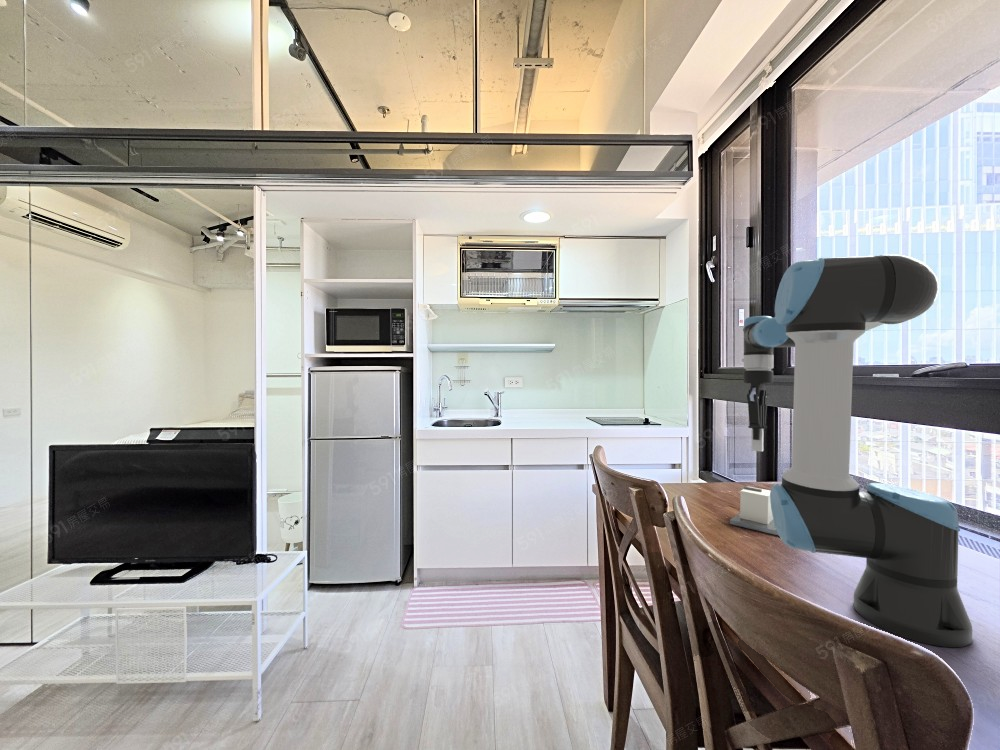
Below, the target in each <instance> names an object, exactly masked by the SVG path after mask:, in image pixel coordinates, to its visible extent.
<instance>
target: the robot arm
mask: <svg viewBox="0 0 1000 750" xmlns="http://www.w3.org/2000/svg"><path fill="white" fill-rule="evenodd" d="M778 285H779V286H778V289H777V292H776V297H775V301H774V302H775V303H774V317H772V316H769V315H760V316H759V315H756V316H749V317H747V318H745V319H744V322H743V328H742V332H743V358H742V359H741V362H742V363H743V369H745V370H744V371H743V373H742V375H743V376H742V377H743V378H742V381H743V383H744V384H750V387H749V389H748V393H747V394H746V399H747V408H748V409H747V410H748V426H747V428H748V429H751V445H750V446H751V447H750V448H751V451H755V452H764V438H765V437H764V430H765V429H767V428H768V426H767V425H766V424H767V412H768V411H767V410H768V400H769V393H768V390H767V388H766V384H773V383H774V370H773V369H774V367H775V366H774V358H775V357H774V348H794V372H793V375H794V376H793V410H792V411H793V412H792V445H791V447H792V448H791V466H790V468H788V469H787V470H785V471H784V472H783V473H782V475H781V483H776V484H772V486H771V487H770V491H771V492H770V503H771V510H772V515H773V519H774V523H775V526H776V529H777V532H778V534H779V538H780V539H781V541H782V542H783V543H784V544H785V545H786V546H787V547H789V548H791V549H793V550H800V551H805V552H810V553H812V554H816V553H819V554H827V555H828V554H829V555H836V556H846V557H855V558H863V559H866V562H865V563H866V564H865V569H864V570H863V573H862V575H861V577H860V579H859V582H858V583H857V586H856V587H855V590H854V591H853V602H852V603H853V608H854V609H855V611H856V612H857V613H858V614H859V615H860V616H861V617H862V618H864V619H865V620H867V621H868V622H870V623H872V624H873V625H875V626H877V627H878V628H881V629H882V630H885V631H887V632H890V633H892V634H894V635H897V636H900V637H902V638H905V639H909V640H912V641H916V642H919V643H923V644H928V645H931V646H932V645H933V646H937V647H938V646H939V647H943V648H944V647H946V648H947V647H948V648H963V647H966V646H969V645H971V644H972V642H973V625H972V622H971V619H970V617H969V615H968V612H967V610H966V607H965V605H964V602H963V600H962V597H961V594H960V592H959V590H958V575H959V574H958V571H959V570H958V568H959V567H958V566H959V565H958V563H959V532H960V531H961V528H960V523H959V517H958V516H959V515H958V514H959V513H958V509H957V508H956V506H955V505H954V504H953V503H952V502H950V501H949V500H947V499H945V498H943V497H940V496H937V495H935V494H931V493H928V492H924V491H920V490H917V489H914V488H909V487H903V486H899V485H896V484H895V485H894V484H888V483H882V482H869V483H868V484H867V486H866V487H865V490H866V491H861V489H860V483H859V482H858V481H856V479H855V478H853V477H852V475H850V463H851V462H850V457H851V454H850V453H851V434H852V433H851V430H852V429H851V426H852V402H853V401H852V398H853V396H852V395H853V373H854V372H853V368H854V367H853V366H854V344H855V342H856V340H858V339H859V338H860V337H861V336H862V335H864V334H865V333H866V332H867V331H869V330H872V329H874V328H877V327H881V326H882V325H898V324H903V323H905V322H907V321H910V320H912V319H915V318H917V317H919V316H921V315H922V314H924V313H925V312H926V311H928V310H929V309H930V308H931V307H932V306H933V305H934V303H935V301H936V299H937V298H938V294H939V290H940V289H939V288H940V287H939V286H940V285H939V281H938V278H937V275H936V274H935V273H934V271H933V270H932V268H930V267H929V266H928V265H927V264H925V263H924V262H923V261H921V260H918V259H916V258H913V257H910V256H906V255H901V254H880V255H868V256H867V255H866V256H865V255H864V256H863V255H862V256H844V257H843V256H842V257H819V258H815V259H809V260H801V261H797V262H794V263H793V264H791V265H790V266H789V267H788V268H787V269H786V270H785V272H784V273H783V275H782V278H781V280H780V282H779V284H778Z"/></svg>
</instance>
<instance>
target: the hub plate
mask: <svg viewBox="0 0 1000 750" xmlns="http://www.w3.org/2000/svg"><path fill="white" fill-rule="evenodd" d="M729 524H730V525H733V526H737V527H742V528H746V529H750V530H754V531H759V532H762V533H766V534H769V535H770V534H771V535H774V536H779V534H778V532H777V529H776V526H775V523H774V519H773V520H772V521H771V522H770V523H769V524H768V525H767V524H763V523H759V522H755V521H750V520H746V519H742V518H740V512H739V513H737V514H735V516H733V517H732V518H730V519H729ZM779 537H780V536H779Z"/></svg>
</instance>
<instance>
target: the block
mask: <svg viewBox="0 0 1000 750" xmlns="http://www.w3.org/2000/svg"><path fill="white" fill-rule="evenodd" d="M770 492H771V489H770V490H769V489H765V488H764V489H763V488H758V487H753V486H744V488H743V489H742V490H740V493H739V494H740V495H739V496H740V500H739V513H740V518H742V519H746V520H750V521H755V522H759V523H763V524H767V525H768V524H769V523H770V522H771V521H772V520H773V515H772V510H771V503H770Z"/></svg>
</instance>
